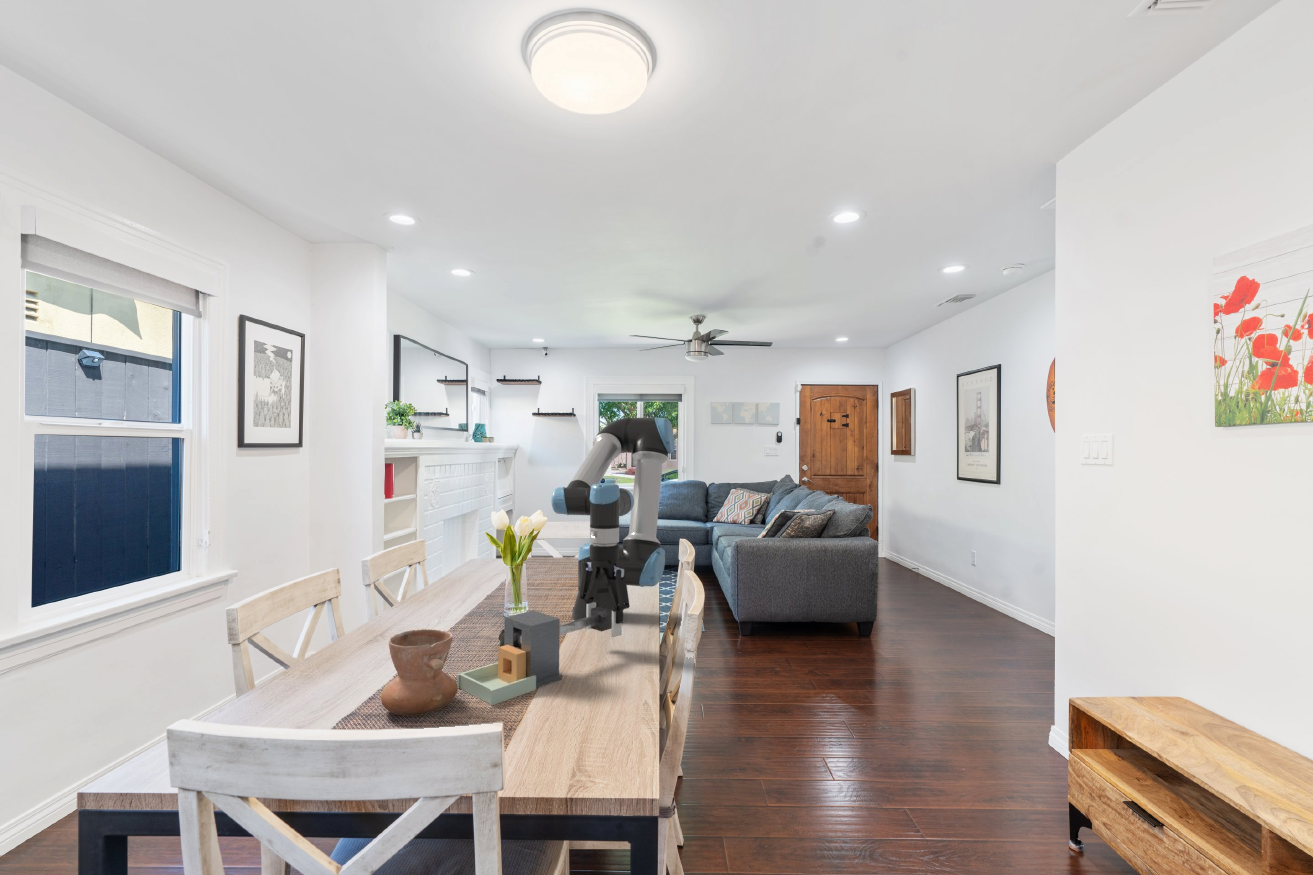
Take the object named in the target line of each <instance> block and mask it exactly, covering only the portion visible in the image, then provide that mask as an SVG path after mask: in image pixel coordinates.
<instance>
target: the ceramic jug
mask: <svg viewBox="0 0 1313 875" xmlns="http://www.w3.org/2000/svg"><path fill="white" fill-rule="evenodd" d="M452 643H453V633H452V632H450V631H446V630H439V629H430V628H429V629H427V628H426V629H424V628H422V629H412V630H411V629H410V630H407V631H403V632H400V633H396V634H393V636H391V637H390V638H389V639H388V647H389V648H388V649H389V654H390V658H391V662H392V663H393V664H392V665H393V666H394V668H395V671H396V674H397V675H396V677H394V679H392V680H391V681H389V683H387V684H386V685H385V687H383V689H382V691H381V694H380V701H381V704H382V706H383V707H384V708H385V710H386V711H388V712H390V713H393V714H395V715H399V716H409V717H410V716H411V717H412V716H422V715H425V714H431V713H433V712H437V711H438V710H440V709H442V708H444V707H446V706H447V705H449V704H450V703H451V702H452V701H453V700H454V699H455V698H456V696H457V693H458V690H459V689H458V686H457V681H456V680H455V678H454V677H452V676H451V675H449V674H448V673H446V672H445V671H443V668H444V666H445V664H446V661H447V659H448V656H449V653H450V650H451V647H452Z"/></svg>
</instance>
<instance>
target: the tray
mask: <svg viewBox="0 0 1313 875" xmlns="http://www.w3.org/2000/svg"><path fill="white" fill-rule="evenodd" d="M456 680H457V681H456V683H457V686H458V690H459V689H460V690H462V691H463V692H466V693H468V694H470V695H472V696H473V697H475V698H478V699H479V700H481V701H484V702H485V703H488V704H489V706H494V705H496V704H499V703H503V702H505V701H509V700H510V699H513V698H517V697H519V696H523V695H525V694H527V693H530V692H533V691H536V689H537V688H536V676H535V675H533V676H530V677H527V678H524V679H521V680H518V681H515V682H512V683H507V682H504V681H502V680H500V679H498V661H497V662H495V663H491V664H487V665H484V666H480V667H477V668H474V669H469V670H468V671H464V672H460V673H457V674H456Z"/></svg>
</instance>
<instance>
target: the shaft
mask: <svg viewBox="0 0 1313 875" xmlns="http://www.w3.org/2000/svg"><path fill="white" fill-rule="evenodd" d="M612 610H613V608H609V607H605V606H599V607H595V608H591V616H590V617H586V618H583V619H579V620H572V621H569V622H564V623H561V624H560V636H563V635H567V634H570V633H574V632H577V631H580V630H583V629H586V628H588V627H591V628H592V629H593V630H595V631H597V632H605V631H608V630H612ZM592 629H591V630H592ZM517 641H518V644H519V646H521V645H522V635H519V636H518V639H517Z"/></svg>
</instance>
